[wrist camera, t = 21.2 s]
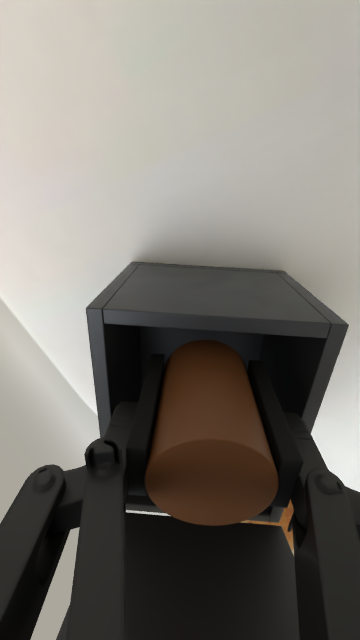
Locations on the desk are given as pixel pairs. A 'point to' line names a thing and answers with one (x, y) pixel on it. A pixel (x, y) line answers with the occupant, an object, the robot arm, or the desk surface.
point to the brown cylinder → (209, 440)
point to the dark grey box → (211, 335)
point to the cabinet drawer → (207, 581)
